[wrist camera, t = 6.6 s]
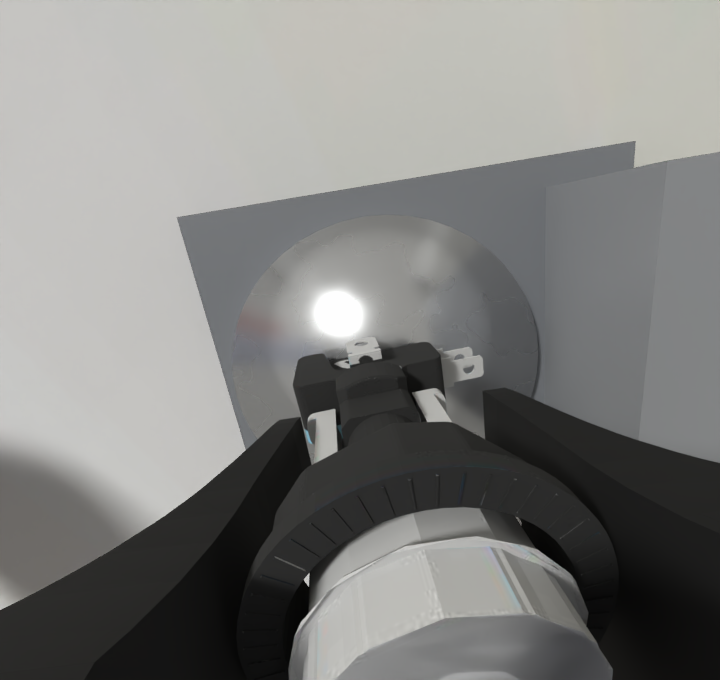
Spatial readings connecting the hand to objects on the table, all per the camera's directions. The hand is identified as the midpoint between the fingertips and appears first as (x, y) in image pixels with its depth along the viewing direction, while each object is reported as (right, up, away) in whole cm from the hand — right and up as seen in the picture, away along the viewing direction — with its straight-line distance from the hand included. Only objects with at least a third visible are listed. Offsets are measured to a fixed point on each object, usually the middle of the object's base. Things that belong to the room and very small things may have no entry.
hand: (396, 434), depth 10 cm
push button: (0, +2, +4) cm, 4 cm away
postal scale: (+2, +2, +6) cm, 6 cm away
